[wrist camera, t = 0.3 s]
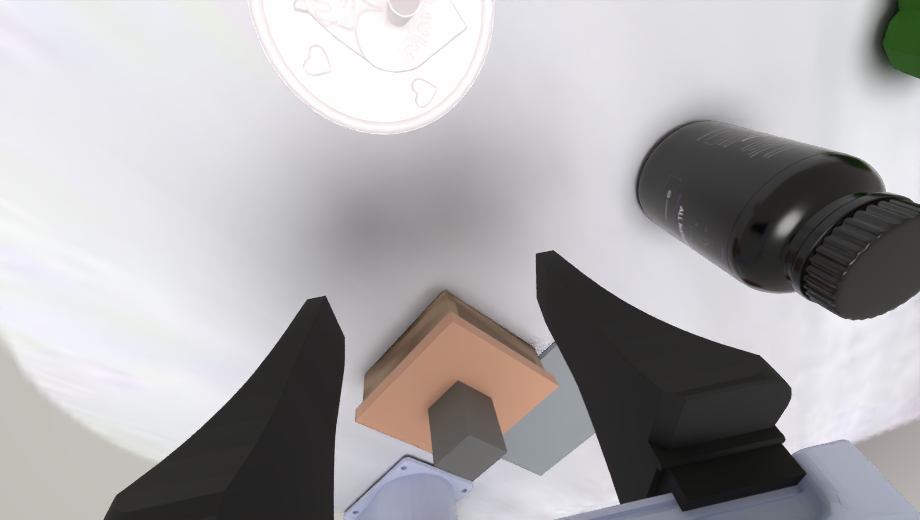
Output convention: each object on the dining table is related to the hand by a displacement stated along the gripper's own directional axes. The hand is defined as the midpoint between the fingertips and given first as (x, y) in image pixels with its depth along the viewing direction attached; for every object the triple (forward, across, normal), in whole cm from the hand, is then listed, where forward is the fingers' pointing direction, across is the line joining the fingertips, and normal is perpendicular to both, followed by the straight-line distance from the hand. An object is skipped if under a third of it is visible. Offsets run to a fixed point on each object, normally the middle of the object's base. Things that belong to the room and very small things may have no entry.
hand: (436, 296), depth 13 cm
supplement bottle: (+11, -16, +4) cm, 20 cm away
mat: (+8, -7, +23) cm, 25 cm away
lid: (+6, 0, +14) cm, 15 cm away
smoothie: (+12, 0, -7) cm, 14 cm away
